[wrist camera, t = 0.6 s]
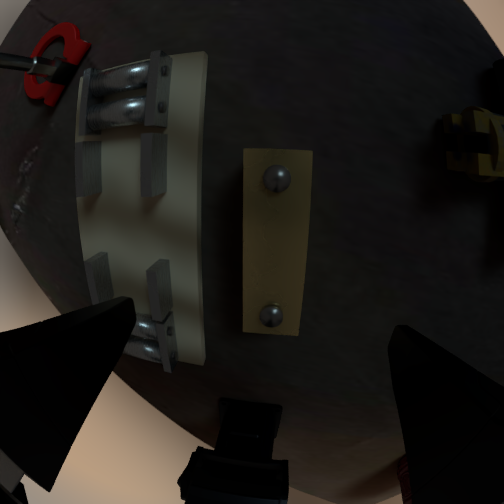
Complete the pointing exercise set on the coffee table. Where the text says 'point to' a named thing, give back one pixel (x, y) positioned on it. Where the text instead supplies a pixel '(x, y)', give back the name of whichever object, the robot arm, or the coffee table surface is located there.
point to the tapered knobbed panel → (275, 238)
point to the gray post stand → (49, 63)
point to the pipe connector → (479, 138)
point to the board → (154, 205)
